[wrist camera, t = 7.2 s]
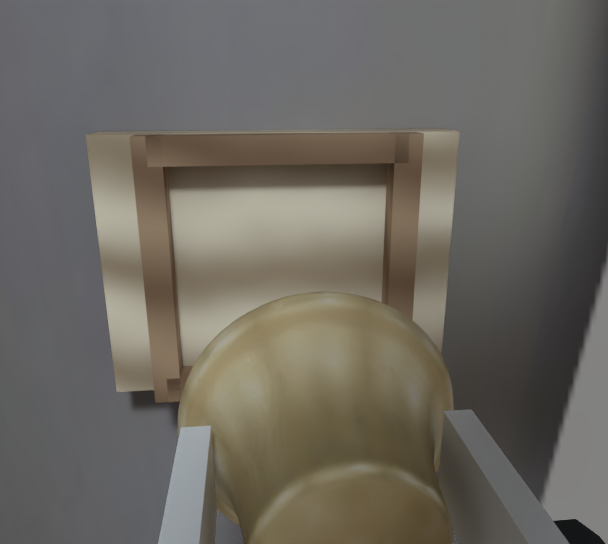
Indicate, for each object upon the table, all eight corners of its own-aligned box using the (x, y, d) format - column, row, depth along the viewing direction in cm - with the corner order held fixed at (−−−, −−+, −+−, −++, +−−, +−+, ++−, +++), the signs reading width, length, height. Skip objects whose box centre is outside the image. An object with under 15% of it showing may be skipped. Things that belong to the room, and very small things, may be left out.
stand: (100, 131, 31) (77, 137, 27) (441, 128, 33) (470, 133, 29) (126, 368, 36) (110, 405, 31) (425, 353, 38) (448, 386, 33)
